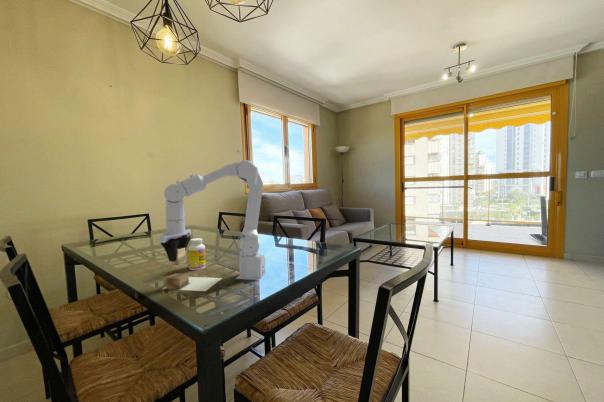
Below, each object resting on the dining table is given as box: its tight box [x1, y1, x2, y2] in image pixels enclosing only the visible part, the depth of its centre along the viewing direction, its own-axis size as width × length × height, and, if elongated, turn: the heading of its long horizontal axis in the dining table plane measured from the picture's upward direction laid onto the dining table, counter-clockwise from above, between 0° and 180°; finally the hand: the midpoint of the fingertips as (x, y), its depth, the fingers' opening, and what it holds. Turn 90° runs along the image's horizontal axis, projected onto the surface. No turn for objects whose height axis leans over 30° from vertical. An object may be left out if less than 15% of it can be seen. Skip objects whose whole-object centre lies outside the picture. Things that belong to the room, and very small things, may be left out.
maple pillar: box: [167, 248, 187, 266], centre depth 86 cm, size 4×4×5 cm
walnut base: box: [165, 272, 190, 290], centre depth 86 cm, size 5×5×4 cm
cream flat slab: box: [161, 276, 223, 292], centre depth 89 cm, size 16×12×1 cm
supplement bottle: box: [187, 237, 207, 271], centre depth 107 cm, size 7×7×13 cm
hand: (177, 259), depth 86 cm, fingers closed on maple pillar, 4 cm apart
